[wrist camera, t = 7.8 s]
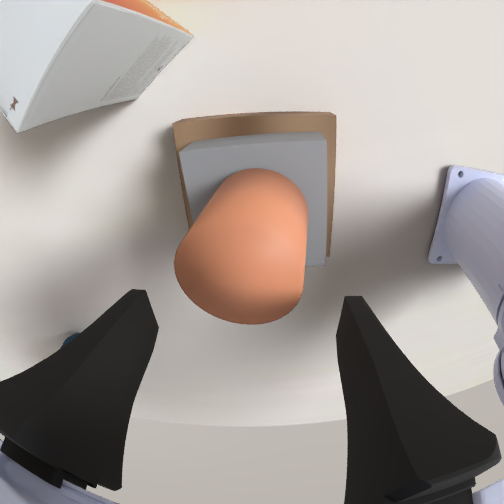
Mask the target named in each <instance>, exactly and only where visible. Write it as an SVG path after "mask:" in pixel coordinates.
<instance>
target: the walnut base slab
mask: <svg viewBox="0 0 504 504" xmlns="http://www.w3.org/2000/svg"><path fill="white" fill-rule="evenodd" d="M173 131H174V139H175V146H176V153H177V159H178V166H179V172H180V179H181V185H182V191H183V197H184V203H185V208H186V214H187V219H188V225H189V230H190V228H191V227H192V225H193V219H192V215H191V210H190V206H189V201H188V196H187V191H186V186H185V182H184V177H183V172H182V166H181V161H180V156H179V152H180V151H181V150H183V149H184V148H185V147H186V146H188V145H189V144H190V143H192V142H193V141H200V140H207V139H215V138H224V137H233V136H244V135H255V134H269V133H286V132H316V131H320V132H321V134H322V135H323V136H324V138H325V139H326V140H327V239H326V257H329V254H330V244H331V232H332V219H333V204H334V186H335V162H336V115H334V114H332V113H331V112H258V113H240V114H226V115H215V116H205V117H196V118H188V119H182V120H180V121H177V122H175V123H173Z"/></svg>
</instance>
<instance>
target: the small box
mask: <svg viewBox="0 0 504 504" xmlns="http://www.w3.org/2000/svg"><path fill="white" fill-rule="evenodd" d="M193 37H194V36H193V35H192V34H191V33H190V32H188V31H187V30H186V29H185V28H183V27H182V26H181V25H179V24H178V23H176V22H175V21H174V20H172V19H171V18H170V17H168V16H167V15H166V14H164V13H163V12H162V11H160V10H159V9H158V8H156V7H155V6H154V5H153V4H151V3H150V2H148V1H147V0H0V111H1V112H2V114H3V115H4V116H5V118H6V119H7V121H8V122H9V124H10V125H11V126H12V128H13V129H14V131H15V132H16V133H21V132H24V131H26V130H29V129H31V128H34V127H37V126H39V125H42V124H45V123H48V122H51V121H54V120H57V119H60V118H63V117H67V116H69V115H73V114H76V113H80V112H83V111H87V110H91V109H94V108H98V107H102V106H107V105H111V104H115V103H120V102H124V101H129V100H134V99H137V98H138V97H139V96H140V94H141V93H142V92H143V91H144V90H145V88H146V87H147V86H148V85H149V84H150V83H151V81H152V80H153V79H154V78H155V77H156V76H157V75H158V73H159V72H160V71H161V70H162V69H163V68H164V67H165V66H166V65H167V64H168V63H169V62H170V61H171V59H172V58H173V57H174V56H175V55H176V54H177V53H178V52H179V51H180V50H181V49H182V48H183V47H184V46H185V45H186V44H187V43H188V42H189V41H190V40H191V39H192V38H193Z"/></svg>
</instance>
